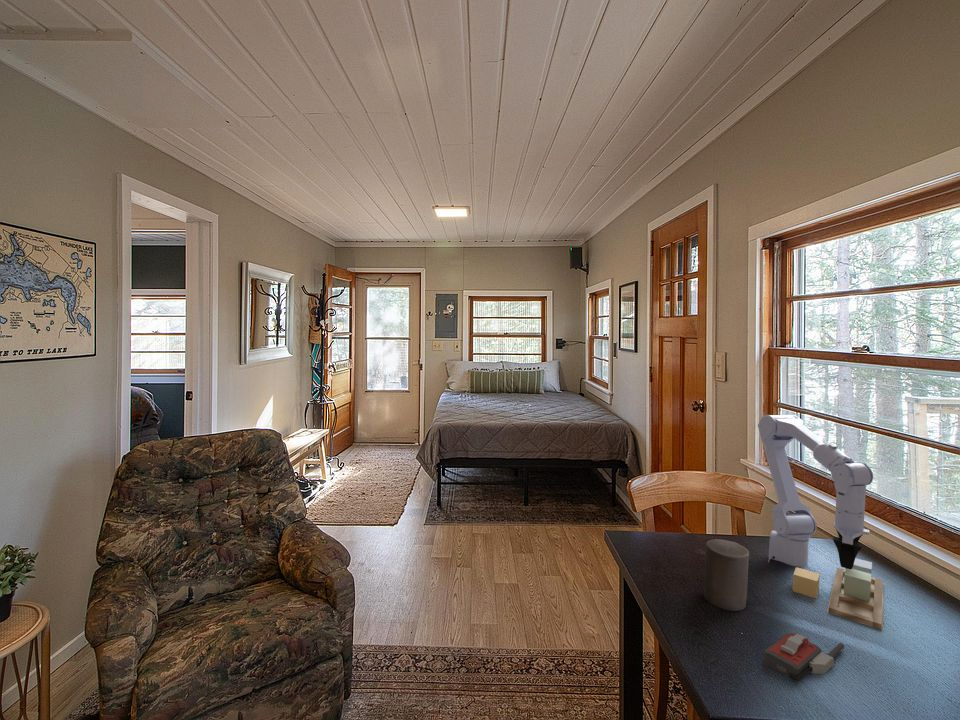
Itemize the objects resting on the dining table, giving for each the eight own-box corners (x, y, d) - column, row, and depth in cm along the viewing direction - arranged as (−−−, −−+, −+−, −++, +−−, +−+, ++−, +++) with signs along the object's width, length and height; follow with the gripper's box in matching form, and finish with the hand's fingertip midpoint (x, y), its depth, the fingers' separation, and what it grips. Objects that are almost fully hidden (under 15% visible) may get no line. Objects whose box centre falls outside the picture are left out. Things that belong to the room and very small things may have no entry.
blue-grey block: (845, 585, 121) (846, 562, 121) (846, 577, 125) (847, 556, 124) (870, 592, 118) (871, 569, 117) (870, 584, 121) (872, 562, 121)
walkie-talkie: (807, 694, 86) (848, 653, 97) (808, 671, 86) (849, 633, 97) (758, 666, 93) (801, 631, 105) (758, 645, 93) (802, 612, 104)
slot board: (826, 617, 109) (827, 607, 109) (835, 576, 128) (836, 567, 128) (882, 636, 102) (883, 624, 102) (883, 590, 121) (883, 580, 121)
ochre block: (792, 596, 118) (793, 574, 118) (795, 589, 122) (796, 567, 121) (816, 604, 115) (817, 581, 114) (818, 596, 118) (819, 573, 118)
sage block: (843, 597, 115) (844, 574, 115) (844, 589, 119) (845, 567, 118) (869, 605, 112) (870, 581, 111) (870, 597, 115) (871, 573, 115)
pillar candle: (698, 600, 116) (700, 542, 115) (710, 584, 123) (712, 530, 122) (740, 616, 109) (744, 556, 108) (751, 599, 116) (754, 542, 115)
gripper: (870, 522, 108) (867, 578, 109) (870, 505, 119) (867, 556, 120) (832, 515, 112) (830, 568, 113) (836, 499, 124) (833, 548, 124)
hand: (846, 562), depth 117 cm, fingers open, 7 cm apart
